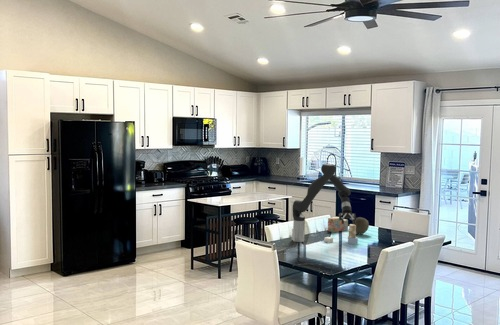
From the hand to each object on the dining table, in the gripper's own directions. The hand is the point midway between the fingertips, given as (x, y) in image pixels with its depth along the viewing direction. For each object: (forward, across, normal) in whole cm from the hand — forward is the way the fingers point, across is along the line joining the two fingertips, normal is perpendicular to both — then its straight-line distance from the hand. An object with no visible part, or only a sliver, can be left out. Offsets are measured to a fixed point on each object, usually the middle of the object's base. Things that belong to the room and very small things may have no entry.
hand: (348, 223), depth 397 cm
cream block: (+16, -17, +4) cm, 24 cm away
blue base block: (+18, +2, +2) cm, 18 cm away
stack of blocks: (-18, -1, +38) cm, 42 cm away
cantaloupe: (-8, +16, +27) cm, 33 cm away
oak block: (+14, +1, -2) cm, 14 cm away
